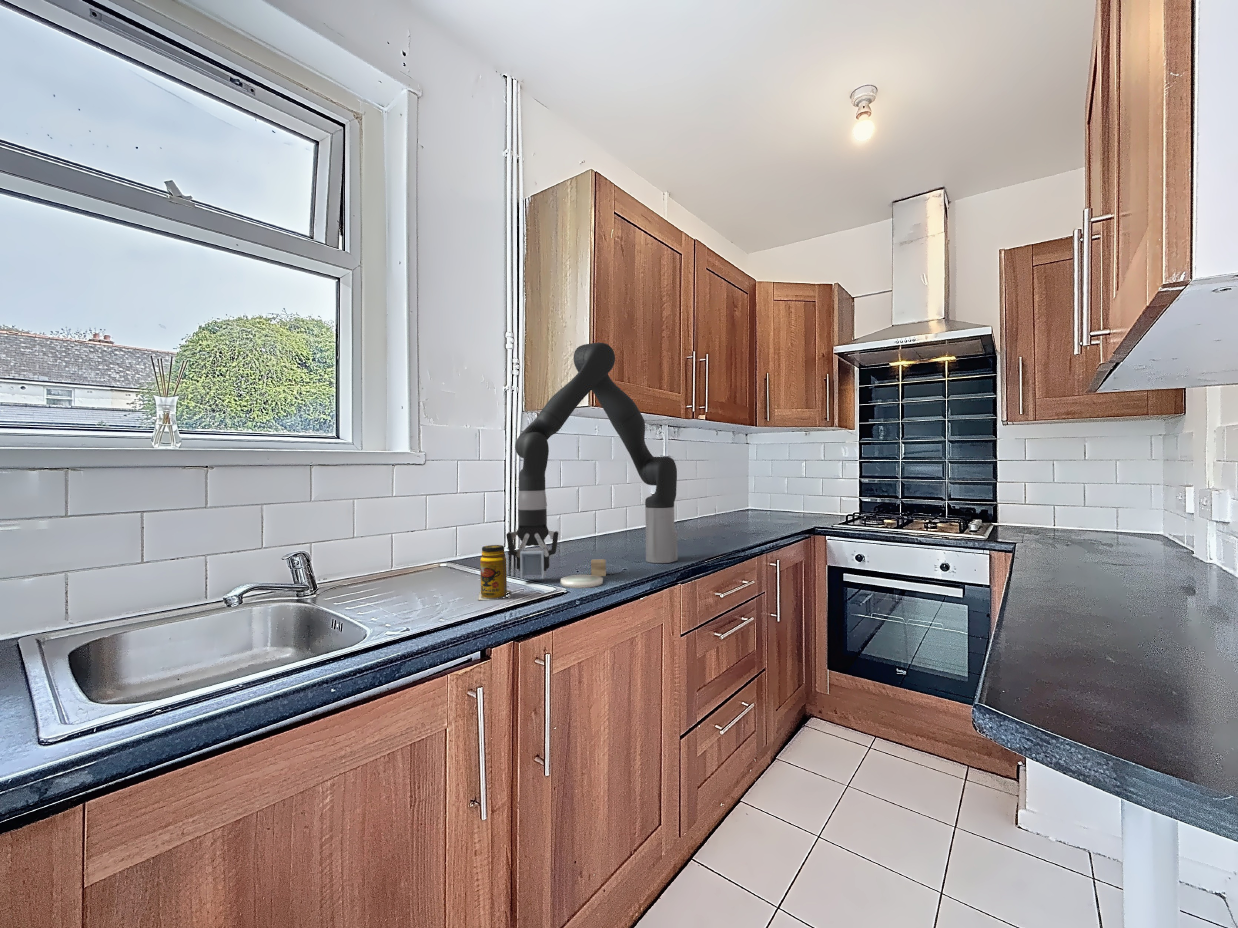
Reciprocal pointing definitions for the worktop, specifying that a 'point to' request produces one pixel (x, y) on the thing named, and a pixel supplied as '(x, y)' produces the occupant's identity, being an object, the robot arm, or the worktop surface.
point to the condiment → (493, 573)
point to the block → (598, 567)
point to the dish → (581, 581)
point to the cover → (532, 562)
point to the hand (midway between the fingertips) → (533, 570)
